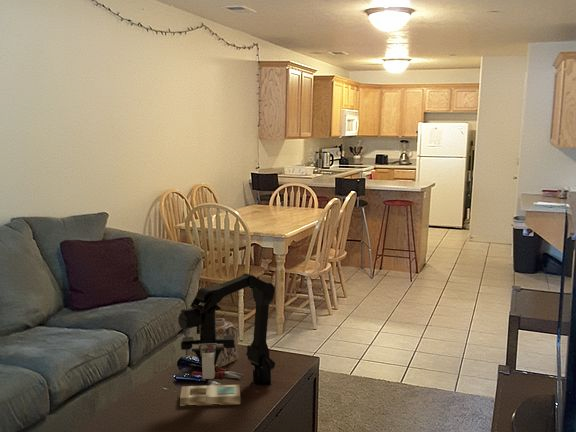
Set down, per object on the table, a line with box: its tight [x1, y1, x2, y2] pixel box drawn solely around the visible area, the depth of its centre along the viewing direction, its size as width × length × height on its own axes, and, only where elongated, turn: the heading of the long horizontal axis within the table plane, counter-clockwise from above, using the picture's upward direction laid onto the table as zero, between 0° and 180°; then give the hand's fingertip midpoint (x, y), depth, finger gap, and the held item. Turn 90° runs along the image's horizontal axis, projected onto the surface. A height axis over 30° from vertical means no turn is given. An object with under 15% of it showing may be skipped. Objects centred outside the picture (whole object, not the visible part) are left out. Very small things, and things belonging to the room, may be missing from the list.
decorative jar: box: [201, 317, 239, 368], centre depth 258 cm, size 12×12×18 cm
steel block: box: [201, 353, 216, 380], centre depth 220 cm, size 4×4×8 cm
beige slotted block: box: [179, 384, 241, 407], centre depth 221 cm, size 21×10×3 cm, turn 96°
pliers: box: [191, 366, 245, 379], centre depth 244 cm, size 12×20×3 cm, turn 71°
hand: (208, 365), depth 220 cm, fingers closed on steel block, 4 cm apart
